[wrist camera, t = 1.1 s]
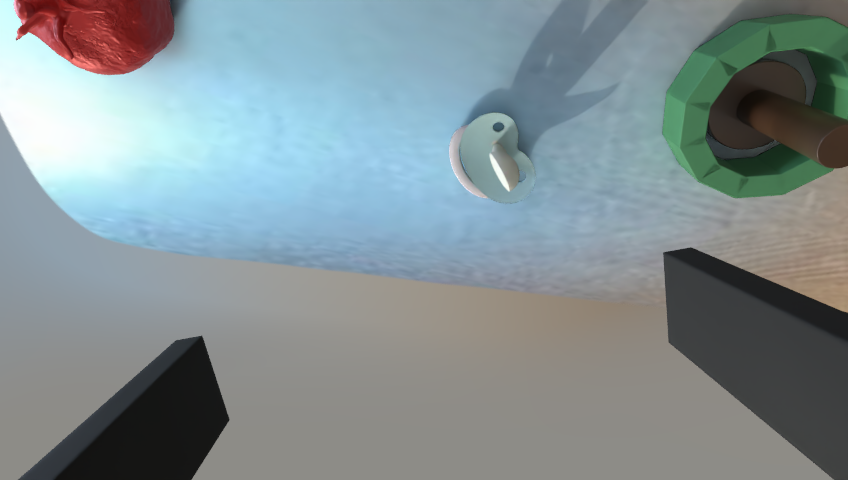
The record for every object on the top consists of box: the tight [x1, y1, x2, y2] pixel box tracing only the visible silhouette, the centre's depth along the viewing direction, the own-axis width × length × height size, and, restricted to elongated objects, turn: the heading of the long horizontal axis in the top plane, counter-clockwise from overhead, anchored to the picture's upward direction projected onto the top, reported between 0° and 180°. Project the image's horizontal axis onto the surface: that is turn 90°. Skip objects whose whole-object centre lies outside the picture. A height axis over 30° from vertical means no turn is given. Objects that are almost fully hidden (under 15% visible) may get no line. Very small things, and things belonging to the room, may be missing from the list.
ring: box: [662, 14, 848, 198], centre depth 31 cm, size 11×11×4 cm
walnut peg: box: [707, 59, 848, 168], centre depth 28 cm, size 6×6×10 cm
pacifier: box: [449, 112, 536, 204], centre depth 34 cm, size 7×6×6 cm
